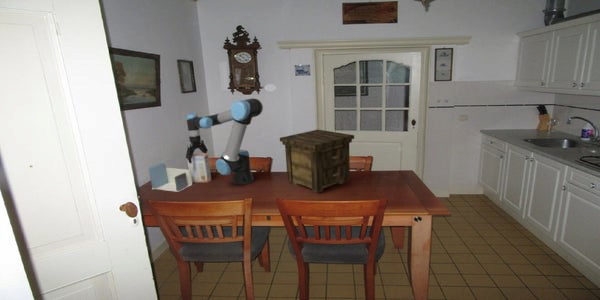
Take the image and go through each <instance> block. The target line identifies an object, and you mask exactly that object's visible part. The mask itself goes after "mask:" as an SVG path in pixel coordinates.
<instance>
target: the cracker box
mask: <svg viewBox="0 0 600 300" xmlns="http://www.w3.org/2000/svg"><path fill="white" fill-rule="evenodd" d="M192 158H193V164H194V167H190V163H189V159H188V158H186V160H187V166H188V170H190V171H191V178H192V183H210V182H211V181H212V175H211V168H210V159H209V154H207V153H206V154H202V153H201V154H198V153H193V156H192Z"/></svg>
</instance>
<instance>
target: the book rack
mask: <svg viewBox="0 0 600 300" xmlns="http://www.w3.org/2000/svg"><path fill="white" fill-rule="evenodd" d="M148 173H149V177H150V178H149V179H150V184H151V187H152V188H151V190H162V191H166V192H167V191H169V192H180V191H183V190H185V189H186V188H189V187H190V186H193V182H192V178H191V171H190V170H189V169H185V168H175V167H174V168H173V167H166V164H165V163H158V164H156V165H153V166H150V167H148ZM183 173H186V177H187V184H188V187H186V188H184V189H182V190H180V191H177V189H176V183H175V177H176V176H178V175H180V174H183Z"/></svg>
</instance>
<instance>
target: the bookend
mask: <svg viewBox="0 0 600 300" xmlns="http://www.w3.org/2000/svg"><path fill="white" fill-rule="evenodd" d="M175 183H176V189H177V191H179V192H180V190H181V191H183V190H185V189H186V187H187V188H189V187H188V184H187V177H186V173H183V174H180V175H178V176H176V177H175ZM184 188H185V189H184ZM182 189H183V190H182Z"/></svg>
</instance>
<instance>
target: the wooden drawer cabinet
mask: <svg viewBox="0 0 600 300" xmlns="http://www.w3.org/2000/svg"><path fill="white" fill-rule="evenodd" d="M353 140H355V134H347V133H342V132H337V131H330V130H325V129H324V130H322V129H314V130H309V131H304V132H300V133H296V134H291V135H287V136H283V137H279V142H281V143H282V144H281V145H284V149H285V150H284V152H285V163H286V165H285V167H286V178H287V181H288V182H291V183H292V184H293V185H296V186H298V185H301V186H305V188H306V187H307V188H309V189H311V190H312V192H314V193H317V194H319V193H321V192H323V191H324V189H325V188H327V187H330V186H334V185H335V184H339V185H341V184H344V183H346V181H349V180H350V179H351V177H350V176H351V171H350V170H351V169H350V168H351V167H350V161H351V159H350V143H352V142H353Z"/></svg>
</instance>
